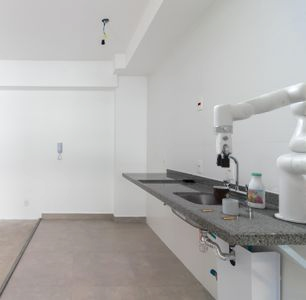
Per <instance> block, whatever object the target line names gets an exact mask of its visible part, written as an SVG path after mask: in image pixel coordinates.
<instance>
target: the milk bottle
mask: <svg viewBox="0 0 306 300" xmlns="http://www.w3.org/2000/svg"><path fill="white" fill-rule="evenodd" d="M262 176H263V174H262V173H261V172H251V180H250V182H249V183H248V187H247V206H248V207H249V208H254V209H265V208H266V186H265V184H264V182H263V180H262ZM249 203H250V205H251V206H250V205H249Z"/></svg>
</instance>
